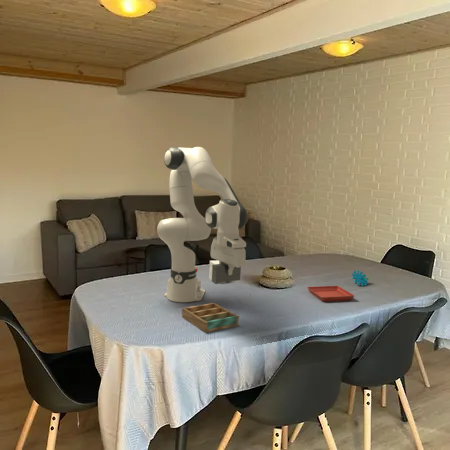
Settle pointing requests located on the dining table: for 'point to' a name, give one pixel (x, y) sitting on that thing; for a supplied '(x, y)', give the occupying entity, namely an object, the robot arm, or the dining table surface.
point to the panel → (224, 273)
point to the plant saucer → (330, 293)
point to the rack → (210, 317)
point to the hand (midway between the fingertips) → (226, 273)
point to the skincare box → (211, 269)
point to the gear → (360, 278)
